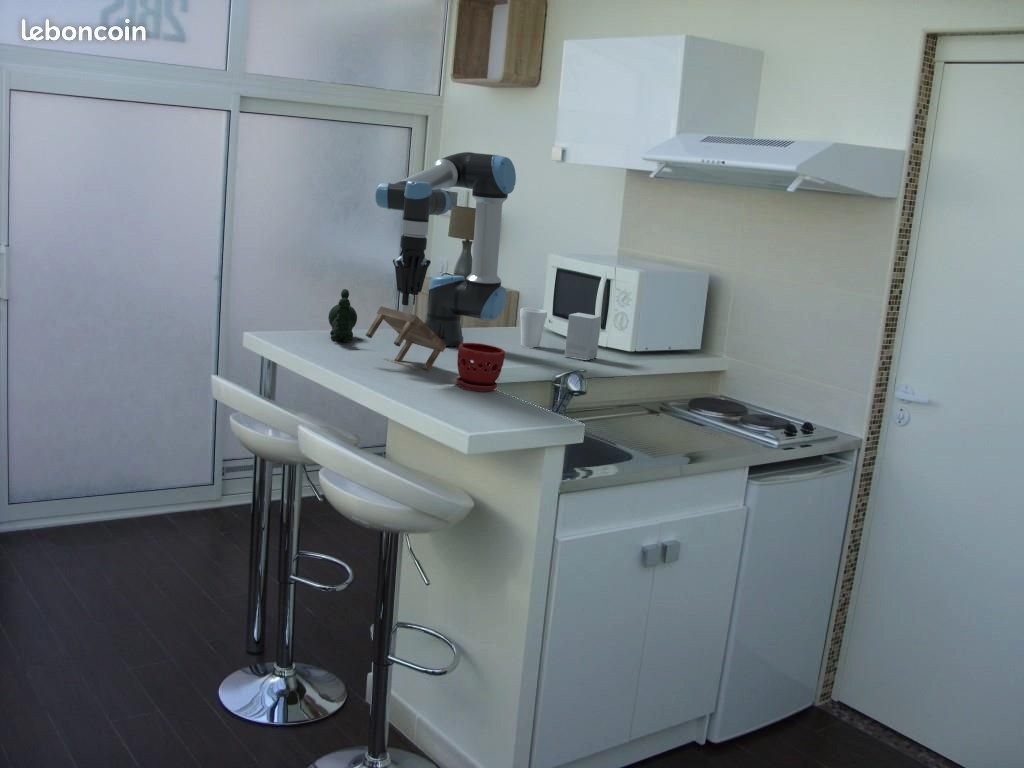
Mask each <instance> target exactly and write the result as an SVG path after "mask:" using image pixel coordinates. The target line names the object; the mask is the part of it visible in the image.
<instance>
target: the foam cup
mask: <svg viewBox="0 0 1024 768" xmlns="http://www.w3.org/2000/svg"><path fill="white" fill-rule="evenodd" d="M519 310H520V311H519V316H520V346H521V345H522V346H526V347H540V344H541V341H542V336H543V333H544V327H545V323H546V319H547V317H548V311H547V310H545V309H540V308H534V307H533V308H532V307H521V308H520V309H519ZM522 346H521V347H522ZM526 347H525V348H526Z"/></svg>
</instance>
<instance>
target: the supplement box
mask: <svg viewBox="0 0 1024 768" xmlns="http://www.w3.org/2000/svg"><path fill="white" fill-rule="evenodd" d="M601 324H602V315H601V316H600V315H596V314H595V315H594V314H591V313H589V314H588V313H583V312H576V313H575V312H574V313H570V314H568V322H567V329H566V330H567V331H566V341H565V348H564V356H567V357H576V358H582V359H586V360H590V359H593V358H596V357H597V358H598V350H599V342H600V341H599V340H600V332H601ZM597 358H596V359H597ZM593 360H594V359H593ZM590 361H591V360H590Z"/></svg>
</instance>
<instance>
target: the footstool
mask: <svg viewBox="0 0 1024 768" xmlns="http://www.w3.org/2000/svg"><path fill="white" fill-rule="evenodd" d="M376 314H377V315H376V317H375V319H374V321H373V323H372V324H371V325H370V327H369V329H368V330H367V332H366V333H365V336H366V337H368V338H370V339H373V337H374V335H375V333H376V332H377V330H378V328H379V327H380V325H381V324H382V323H383V320H384V321H385V323H387V324H388V325H389V326H390V327H391V328H392V329H393V331H395V332H396V333H397V334H398V335H397V337H396V339H395V341H394V342H393V344H394V346H396V347H401V345H402V343H403V342H404V341H405V342H404V344H403V345H402V347H401V349H400V351H399V352H398V353H397V355H396V357H395V359H393V360H394V361H397V362H402V361H403V360H404V358H405V356H406V355H407V353H408V352H409V350H410V348H411V347H412V345H413V344H415V345H417V346H421V347H424V348H427V349H431V350H432V352H431V354H430V355H429V357H428V359H427V360H426V362H425V364H424V365H423V367H422V368H421V369H423V370H426V371H430V370H431V368H432V367H433V365H434V363H435V361H436V360H437V358H438V357H439V355H440V353H441V352H442V353H443V352H445V349H446V348H447V347H446V346H447V345H446V344H445V343H444V342H443V341H442V340H441V339H440V338H439V337H438V336H437V335H436V334H435V333H434V332H433V331H432V330H431V329H430V328H429V327H428V326H427V325H426V324H425V321H423V320H422V319H421V318H420V317H419V316H418V315H415V314H413V313H412V314H408V313H404V312H403V311H400V310H396V309H393V308H390V307H386V306H380V307H379V308H378V310H377V312H376Z"/></svg>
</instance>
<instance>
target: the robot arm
mask: <svg viewBox="0 0 1024 768" xmlns="http://www.w3.org/2000/svg"><path fill="white" fill-rule="evenodd" d="M515 169H516V168H515V165H514V164H513V161H512V160H511V159H510V158H509V157H507V156H504V155H499V154H491V153H478V152H477V153H476V152H469V151H464V152H463V151H462V152H459V153H458V152H457V153H454V154H450V155H447V156H445V157H443V158H439V159H438V160H436V161H435V162H434V163H433V164H432V166H430V167H429V168H426V169H423V170H421V171H419V172H417V173H414V174H413V175H411V176H408V177H406V178H404V179H402V180H400V181H398V182H395V183H392V182H391V183H390V182H381V183H379V185H378V186H377V188H376V190H375V193H374V194H375V195H374V197H375V203H376V204H377V206H378V207H379V208H384V209H388V210H393V211H401V212H403V213H402V214H403V216H402V221H401V222H402V224H401V234H402V235H401V237H400V245H399V246H400V249H401V251H400V253H399V256H398V258H393V260H392V262H393V266H394V271H395V272H394V273H395V279H396V280H395V281H396V289H397V292H399V293H400V294H402V295H401V297H402V298H401V305H402V312H404V313H408V314H412V315H413V309H414V306H415V304H416V296H418V295H419V293H422V289H423V286H424V283H425V278H426V275H427V271H428V269H429V267H430V265H431V260H429V259H427V258H426V254H425V251H426V250H427V246H428V245H427V244H428V242H427V241H428V239H427V236H428V234H429V233H428V232H429V224H430V223H429V220H430V215H431V216H441V215H444V214H446V213H448V212H449V210H450V209H451V206H452V198H451V196H450V194H449V193H448V192H447V191H446V190H447V189H450V188H463V189H470V190H472V193H471V196H472V198H474V200H475V214H474V215H475V217H474V230H473V231H474V232H473V233H474V234H473V246H472V247H473V248H472V261H471V273H470V274H469V275H468V276H466V277H465V276H464V275H436V276H433V277H431V278H430V280H429V285H428V293H427V294H428V296H427V307H426V317H425V320H424V323H425V324H426V325H427V326H428V327H429V328H430V329H431V330H432V331H433V332H434V333H435V334H436V335H437V336H438V337H439V338H440V339H441V340H442V341H443V342H444V343H445V344H446V345H447V346H450V348H452V347H453V346H457V347H459V345H460V344H462V343H464V339H465V338H464V336H463V331H462V325H461V317H467V318H468V317H469V318H474V319H480V320H482V321H485V320H486V321H494V320H496V319H498V318H499V317H500V316H501V314H502V313H503V312H504V309H505V306H506V303H507V297H508V296H507V295H508V294H507V289H506V288H505V287H504V286H502V279H501V278H500V277H499V276H498V269H499V257H500V255H499V252H500V242H501V229H502V215H503V214H502V213H503V204H504V202H506V200H508V196H509V195H508V194H511V193H513V191H514V189H515V186H516V181H517V177H516V176H517V173H516V170H515ZM443 189H444V190H443ZM445 189H446V190H445Z"/></svg>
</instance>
